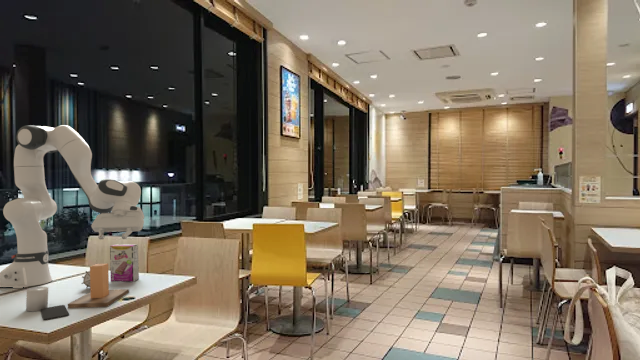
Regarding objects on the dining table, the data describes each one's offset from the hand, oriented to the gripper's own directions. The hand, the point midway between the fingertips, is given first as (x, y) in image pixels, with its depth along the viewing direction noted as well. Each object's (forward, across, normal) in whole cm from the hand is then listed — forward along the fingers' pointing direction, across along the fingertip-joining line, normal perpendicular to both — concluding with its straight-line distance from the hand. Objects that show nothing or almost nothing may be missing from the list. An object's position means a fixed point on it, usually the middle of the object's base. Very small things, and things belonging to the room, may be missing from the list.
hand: (112, 238), depth 167 cm
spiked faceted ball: (+11, -12, +20) cm, 26 cm away
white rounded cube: (+30, -17, +1) cm, 35 cm away
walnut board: (+24, 0, +7) cm, 25 cm away
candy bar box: (+3, -4, +29) cm, 29 cm away
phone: (+34, -8, -2) cm, 35 cm away
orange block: (+23, 0, +6) cm, 23 cm away
